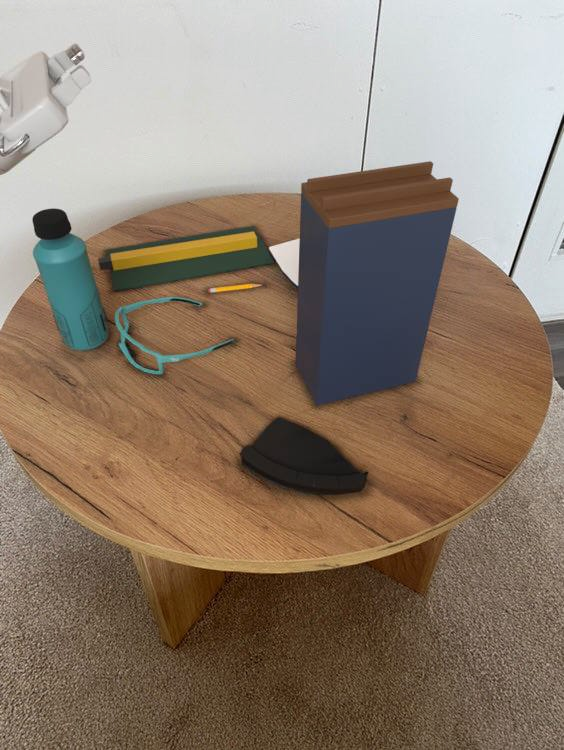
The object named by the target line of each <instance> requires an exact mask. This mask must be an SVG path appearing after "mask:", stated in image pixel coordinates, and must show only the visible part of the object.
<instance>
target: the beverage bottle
mask: <svg viewBox="0 0 564 750" xmlns="http://www.w3.org/2000/svg"><path fill="white" fill-rule="evenodd" d="M31 220H32V226H33V232H34V234H35V237H37V238H38V239H39V240H38V241H37V242H36V244H35V245H34V247H33V249H32V256H33V259H34V260H35V263H36V267H37V269H38V272H39V275H40V278H41V281H42V284H43V286H44V291H45V293H46V296H47V297H46V299H47V301H48V303H49V306H50V309H51V311H52V316H53V319H54V322H55V326H56V328H57V331H58V332H59V335H60V337H61V340H62V342H63V343H64V344H65V345H66V346H67V347H68V348H69V349H71V350H75V351H89V350H93V349H96V348H99V346H101V345H102V344H104V343H105V342H106V341H107V340H108V338H109V333H110V330H111V329H110V326H109V324H108V323H109V321H108V317H107V314H106V309H105V308H104V305H103V300H102V295H101V292H100V289H99V287H98V283H97V280H96V276H95V272H94V270H93V267H92V265H91V261H90V257H89V254H88V251H87V245H86V242H85V241H84V239H83V238H81V237H80V236H78V235H76V234H74V233H71V232H72V225H71V222H70V220H69V217H68V214H67V213H66V211H65V210H63V209H61V208H45V209H42V210H39V211H38V212H36V213H35V214H33V216H32V219H31Z"/></svg>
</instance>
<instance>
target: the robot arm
mask: <svg viewBox="0 0 564 750" xmlns="http://www.w3.org/2000/svg"><path fill="white" fill-rule="evenodd" d="M84 60H85V53H84V50H83V49H82V48H81V47H80V45H79V44H78V43H72V44H71V45H70V46H69V47H67V48H66V49H64V50H61V51H60V52H57V53H54V54H53V55H52V56H50V57H49V56H48V54H46V52H45V51H38V52H36V53H33V54H32V55H30V56H28V57H27V58H25V59H24V60H22V61H20V62H19V63H18V64H16V65H15V66H13V67H12V68H11V69H9V70H8V71H6V72H5V73H4V74H2V75H1V76H0V176H2V175H4V174H7V173H8V172H10V171H11V170H12V169H13V168H15V167H17V165H19V164H20V163H21V162H23V160H25V159H26V158H28V156H30V155H31V154H33V153H34V152H35V151H36V150H37V149H38V148H40V147H41V146H42V145H44V144H45V143H47V142H48V141H49V140H51V139H52V138H54V137H55V136H56V135H58V134H59V133H61V132H62V131H63V129H64V128H65V127H66V126H67V125H68V124H69V115H68V109H67V107H68V106H69V105H71V104H72V103H73V102H74V101H75V99H76V98H77V96H78V95H79V94H80V93H81V91H82V90H83V89H85V87H87V86H88V85H89V84H91V82H92V78H91V74H90V72H89V71H88V70H87V69H86V67H85V66H84V65H82V64H81V65H79V64H80V63H81V62H82V61H84ZM74 66H76V67H75V68H74V69H73V70H71V71H70V72H69V75H68V76H67V77H66V78H64V80H63V79H62V76H64V74H66V73H67V71H68V70H70V69H71V68H72V67H74Z"/></svg>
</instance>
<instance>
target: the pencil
mask: <svg viewBox="0 0 564 750" xmlns="http://www.w3.org/2000/svg"><path fill="white" fill-rule="evenodd" d="M259 287H262V284H258V283H246V284H245V283H244V284H237V285H227V286H219V287H209V288H207V291H208V294H213V293H220V292H221V293H223V292H229V291H237V290H238V291H239V290H245V289H253V288H259Z"/></svg>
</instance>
